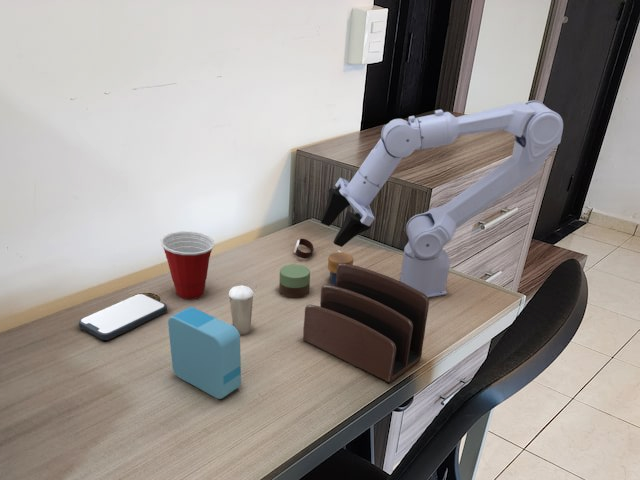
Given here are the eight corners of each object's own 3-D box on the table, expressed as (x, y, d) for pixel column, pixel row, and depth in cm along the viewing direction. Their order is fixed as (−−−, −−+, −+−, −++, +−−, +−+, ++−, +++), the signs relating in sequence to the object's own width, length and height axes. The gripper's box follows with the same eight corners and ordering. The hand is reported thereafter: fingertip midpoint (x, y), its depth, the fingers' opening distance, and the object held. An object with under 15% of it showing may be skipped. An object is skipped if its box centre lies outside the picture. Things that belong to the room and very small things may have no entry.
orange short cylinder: (346, 261, 138) (347, 250, 136) (356, 272, 133) (357, 261, 132) (323, 265, 136) (324, 254, 134) (333, 275, 132) (334, 264, 130)
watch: (295, 246, 152) (295, 232, 150) (314, 247, 151) (315, 233, 149) (292, 260, 145) (292, 245, 143) (312, 261, 145) (313, 246, 143)
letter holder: (335, 321, 122) (340, 255, 114) (421, 361, 111) (433, 291, 103) (302, 340, 116) (304, 272, 108) (389, 384, 105) (400, 312, 97)
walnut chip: (302, 282, 136) (302, 272, 135) (313, 295, 131) (314, 285, 130) (275, 286, 134) (275, 276, 133) (285, 300, 129) (285, 290, 128)
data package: (241, 390, 103) (240, 328, 96) (223, 402, 100) (220, 340, 93) (191, 363, 109) (186, 303, 103) (172, 374, 106) (166, 314, 100)
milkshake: (257, 337, 117) (257, 289, 111) (229, 336, 117) (227, 289, 111) (258, 324, 121) (258, 278, 115) (231, 324, 121) (229, 277, 115)
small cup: (343, 276, 139) (344, 263, 137) (351, 284, 135) (353, 271, 134) (326, 278, 137) (327, 265, 136) (334, 287, 134) (335, 274, 132)
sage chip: (302, 272, 135) (303, 262, 133) (314, 285, 130) (314, 275, 128) (275, 276, 133) (275, 266, 131) (285, 290, 128) (286, 279, 126)
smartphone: (141, 298, 129) (76, 327, 119) (140, 291, 128) (75, 320, 118) (170, 312, 125) (105, 343, 114) (169, 305, 124) (104, 336, 113)
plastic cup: (214, 306, 126) (211, 252, 120) (161, 305, 126) (156, 250, 120) (219, 281, 135) (217, 230, 129) (170, 280, 135) (165, 229, 129)
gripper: (341, 153, 123) (304, 208, 130) (369, 190, 113) (328, 248, 120) (367, 166, 127) (330, 219, 134) (396, 203, 117) (355, 258, 124)
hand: (331, 234), depth 127 cm, fingers open, 7 cm apart
